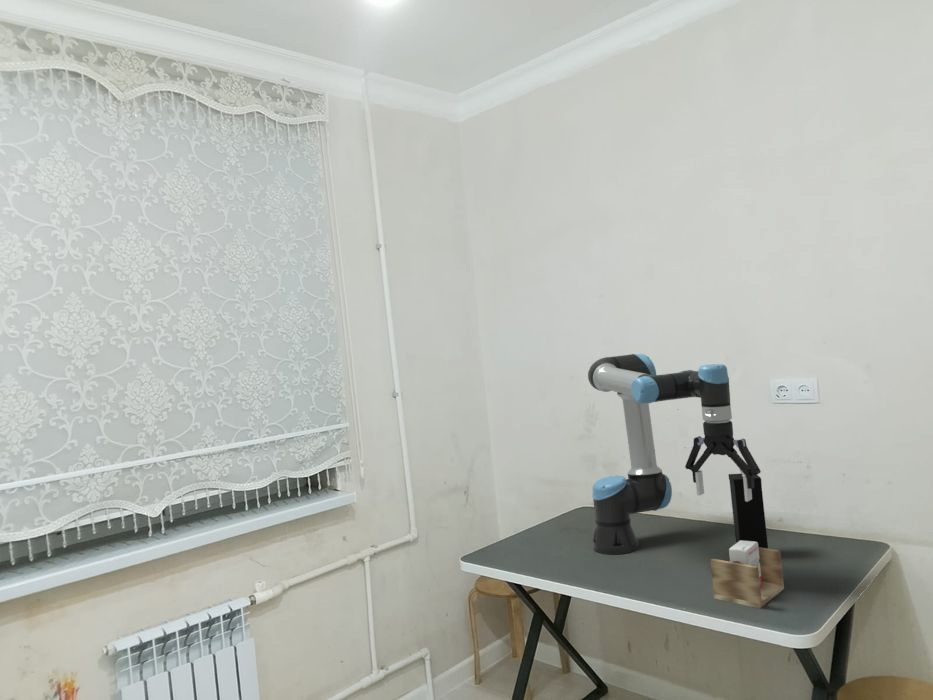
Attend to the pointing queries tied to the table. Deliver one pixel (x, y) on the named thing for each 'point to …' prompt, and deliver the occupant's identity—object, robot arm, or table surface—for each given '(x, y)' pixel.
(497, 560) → the table surface
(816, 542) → the table surface
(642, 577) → the table surface
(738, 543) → the ink box
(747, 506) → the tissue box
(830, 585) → the table surface
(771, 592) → the holder
